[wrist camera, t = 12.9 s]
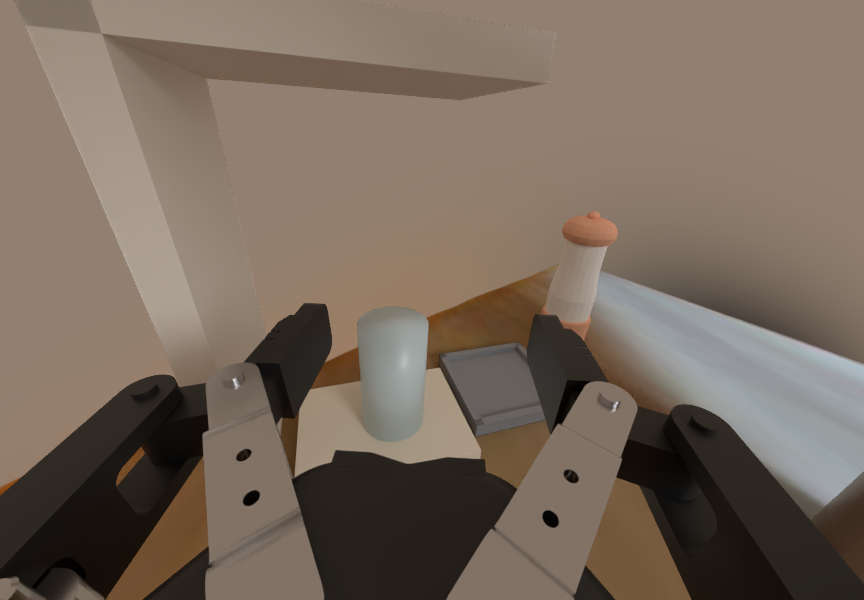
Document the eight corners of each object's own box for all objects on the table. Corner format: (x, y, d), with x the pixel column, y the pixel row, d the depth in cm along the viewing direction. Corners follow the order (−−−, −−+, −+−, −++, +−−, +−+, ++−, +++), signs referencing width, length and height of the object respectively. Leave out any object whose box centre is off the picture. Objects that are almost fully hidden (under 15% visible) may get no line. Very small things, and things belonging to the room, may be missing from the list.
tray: (516, 350, 46) (518, 341, 46) (571, 413, 36) (575, 403, 35) (438, 363, 43) (439, 354, 42) (475, 436, 33) (477, 425, 32)
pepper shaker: (591, 331, 52) (631, 213, 43) (575, 350, 47) (616, 221, 38) (549, 315, 56) (577, 204, 47) (530, 330, 51) (557, 210, 42)
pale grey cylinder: (414, 390, 35) (417, 303, 30) (430, 434, 30) (437, 337, 25) (359, 401, 34) (353, 310, 29) (367, 448, 29) (361, 348, 24)
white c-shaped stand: (438, 379, 40) (461, 70, 25) (478, 464, 30) (557, 32, 15) (263, 411, 34) (159, 35, 19) (240, 529, 24) (-13, -63, 9)
